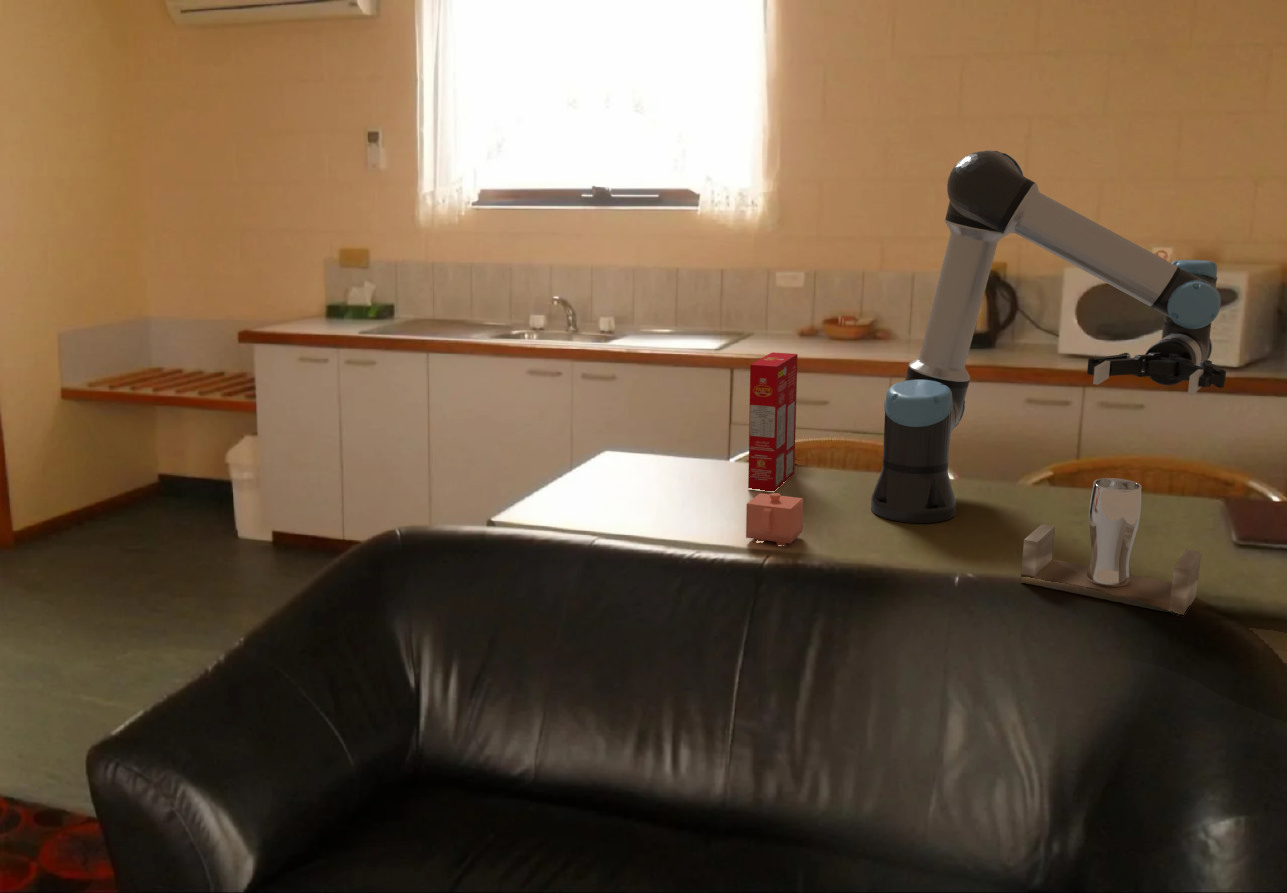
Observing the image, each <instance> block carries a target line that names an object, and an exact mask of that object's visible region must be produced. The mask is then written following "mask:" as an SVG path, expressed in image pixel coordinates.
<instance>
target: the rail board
mask: <svg viewBox="0 0 1287 893" xmlns="http://www.w3.org/2000/svg"><path fill="white" fill-rule="evenodd" d="M1055 528H1056V526H1054V525H1050V524H1044V523H1043V524H1042V523H1041V524H1040V525H1039V526H1038V527H1037V528H1035V530H1033V531H1032V532H1031V533H1030V534H1028V535H1027V536H1026V538H1024V539H1023V549H1022V550H1023V551H1022V562H1021V573H1020V576H1021V577H1030V578H1035V579H1041V580H1045V581H1051V582H1059V583H1065V584H1069V585H1073V586H1078V587H1086V588H1087V589H1092V590H1093V589H1094V590H1096V591H1100V592H1105V593H1109V594H1112V595H1116V596H1124V597H1127V598H1128V597H1129V598H1131V599H1132V598H1133V599H1135V600H1138V601H1139V600H1140V601H1144V602H1146V603H1148V604H1150V605H1152V606H1153V605H1154V606H1157V607H1158V606H1159V607H1161V608H1162V609H1166V610H1168V611H1173V612H1175V613H1178V614H1183V615H1184V613H1185V611H1186V609H1187V607H1188V606H1189V605H1190V606H1192V604H1193V602H1194V601H1195V600H1196V597H1197V591H1198V583H1199V575H1200V566H1201V558H1202V551H1199V550H1193V549H1187V548H1186V549H1185V551H1184V552H1183V553H1182V555H1181V557H1179V559H1178V560H1177V562H1176V563H1175V565H1174V566H1173V571H1172V577H1171V578H1172V581H1168V580H1162V579H1157V578H1151V577H1146V576H1141V575H1136V574H1131V573H1129V575H1130V583H1129V584H1128V585H1126V586H1123V587H1107V586H1101V585H1097V584H1094V583H1092V582H1090V581H1089V580H1087V578H1086V574H1087V570H1088V567H1089V565H1082V564H1077V563H1073V562H1068V561H1061V560H1058V559H1053V552H1054V540H1055ZM1021 577H1020V578H1021ZM1185 614H1186V613H1185ZM1184 616H1185V615H1184Z"/></svg>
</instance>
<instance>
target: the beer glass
mask: <svg viewBox="0 0 1287 893" xmlns="http://www.w3.org/2000/svg"><path fill="white" fill-rule="evenodd" d="M1092 484H1093V486H1092V489H1091V495H1090V502H1089V508H1088V509H1089V510H1088V524H1089V525H1088V526H1089V539H1090V548H1091V551H1090V561H1089V565H1088V566H1089V567H1088V570H1087V574H1086V578H1087V580H1089V581H1090V582H1092V583H1094V584H1097V585H1101V586H1107V587H1123V586H1126V585H1128V584H1129V583H1130V575H1129V574H1130V568H1129V567H1130V557H1131V552H1132V548H1133V546H1134V542H1135V538H1136V535H1137V532H1138V529H1139V526H1140V525H1139V524H1140V519H1141V518H1140V517H1141V509H1142V484H1140V483H1139V482H1136V481H1133V480H1130V479H1124V478H1117V477H1116V478H1115V477H1103V478H1102V477H1101V478H1097V479H1095V480H1094V481H1093V483H1092Z"/></svg>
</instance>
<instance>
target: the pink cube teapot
mask: <svg viewBox="0 0 1287 893" xmlns="http://www.w3.org/2000/svg"><path fill="white" fill-rule="evenodd" d="M745 509H746V513H745V514H746V515H745V517H746V519H745V521H746V523H745V525H746V526H745V530H746V531H745V538H746V539H751V540H758V541H764V540H765V541H768V542H775V543H776V545H777V544H778V545H782V546H783V545H787V544H792V543H793V541H795V540H796V539H797V538H798V536H800V535H801V534H802V533H803V514H804V512H803V510H804V498H803V497H794V496H786V495H781V494H780V493H778V492H775V493H763V492H760V493H758V494H757V495H756V496H754V497H753V498H752V499H750V500H749V502H747V503H746V508H745ZM765 541H764V542H765Z"/></svg>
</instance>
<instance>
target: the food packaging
mask: <svg viewBox="0 0 1287 893" xmlns="http://www.w3.org/2000/svg"><path fill="white" fill-rule="evenodd" d="M798 355H799V354H798V353H788V352H787V353H786V352H770V353H768V354H767V355H765V356H763V357H761V358H760V359H758V360H756V361H755V362H752V363H751V364H750V365H749V367H750V368H749V414H748V416H749V425H748V426H749V427H748V429H749V430H748V476H747V477H748V482H747V483H748V486H747V488H752V489H760V490H765V491H775V490H776V489H777V488H778V487H780V486H781V485H782V484H783V482H785V481H786V480H787V479H788V478H789V477H791V476H792V475H793V474H794V475H795V465H796V463H795V462H796V431H797V430H796V428H797V427H796V425H797V424H796V423H797V391H798V390H797V389H798V388H797V387H798V386H797V385H798V383H797V382H798ZM794 475H793V476H794ZM793 476H792V477H793ZM792 477H791V478H792ZM786 482H787V481H786ZM786 482H785V483H786ZM783 485H784V484H783ZM783 485H782V486H783ZM782 486H781V487H782ZM781 487H780V488H781Z"/></svg>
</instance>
